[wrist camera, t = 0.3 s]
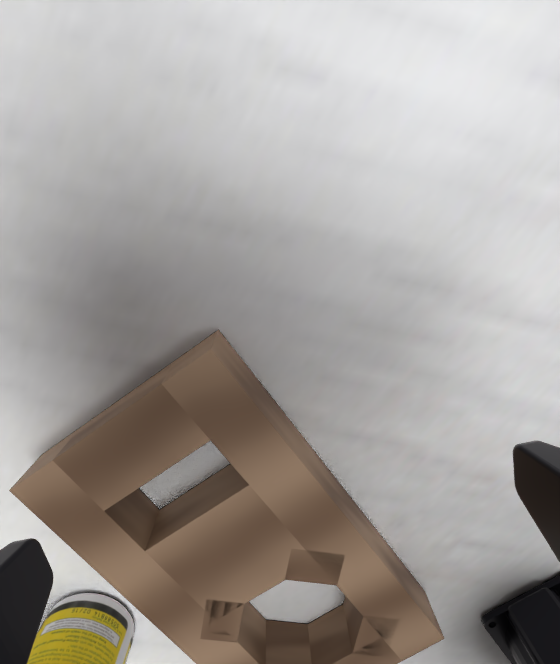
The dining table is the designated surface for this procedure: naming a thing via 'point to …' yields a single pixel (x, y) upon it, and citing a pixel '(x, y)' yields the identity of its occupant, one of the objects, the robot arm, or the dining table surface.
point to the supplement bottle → (84, 632)
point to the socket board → (226, 523)
